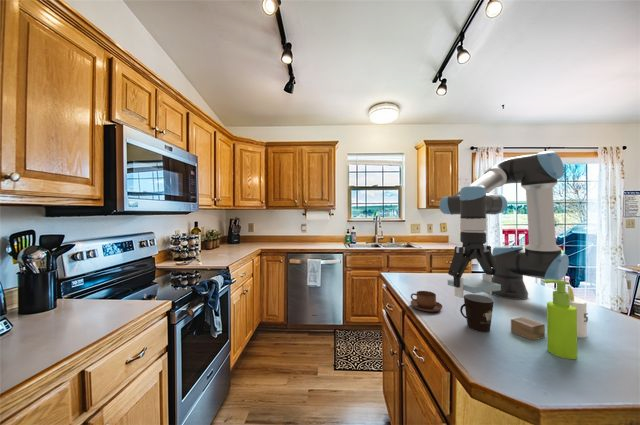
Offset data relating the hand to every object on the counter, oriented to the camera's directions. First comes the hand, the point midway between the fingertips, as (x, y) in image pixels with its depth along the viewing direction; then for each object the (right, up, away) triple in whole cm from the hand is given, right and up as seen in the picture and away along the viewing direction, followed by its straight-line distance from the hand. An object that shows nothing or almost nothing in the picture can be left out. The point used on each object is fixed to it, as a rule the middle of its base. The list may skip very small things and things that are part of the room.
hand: (473, 295), depth 83 cm
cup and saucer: (-9, -12, +17) cm, 22 cm away
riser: (+14, -11, -5) cm, 19 cm away
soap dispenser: (+14, -11, -15) cm, 24 cm away
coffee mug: (0, -11, 0) cm, 11 cm away
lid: (0, +3, 0) cm, 3 cm away
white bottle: (+30, -11, -4) cm, 32 cm away
